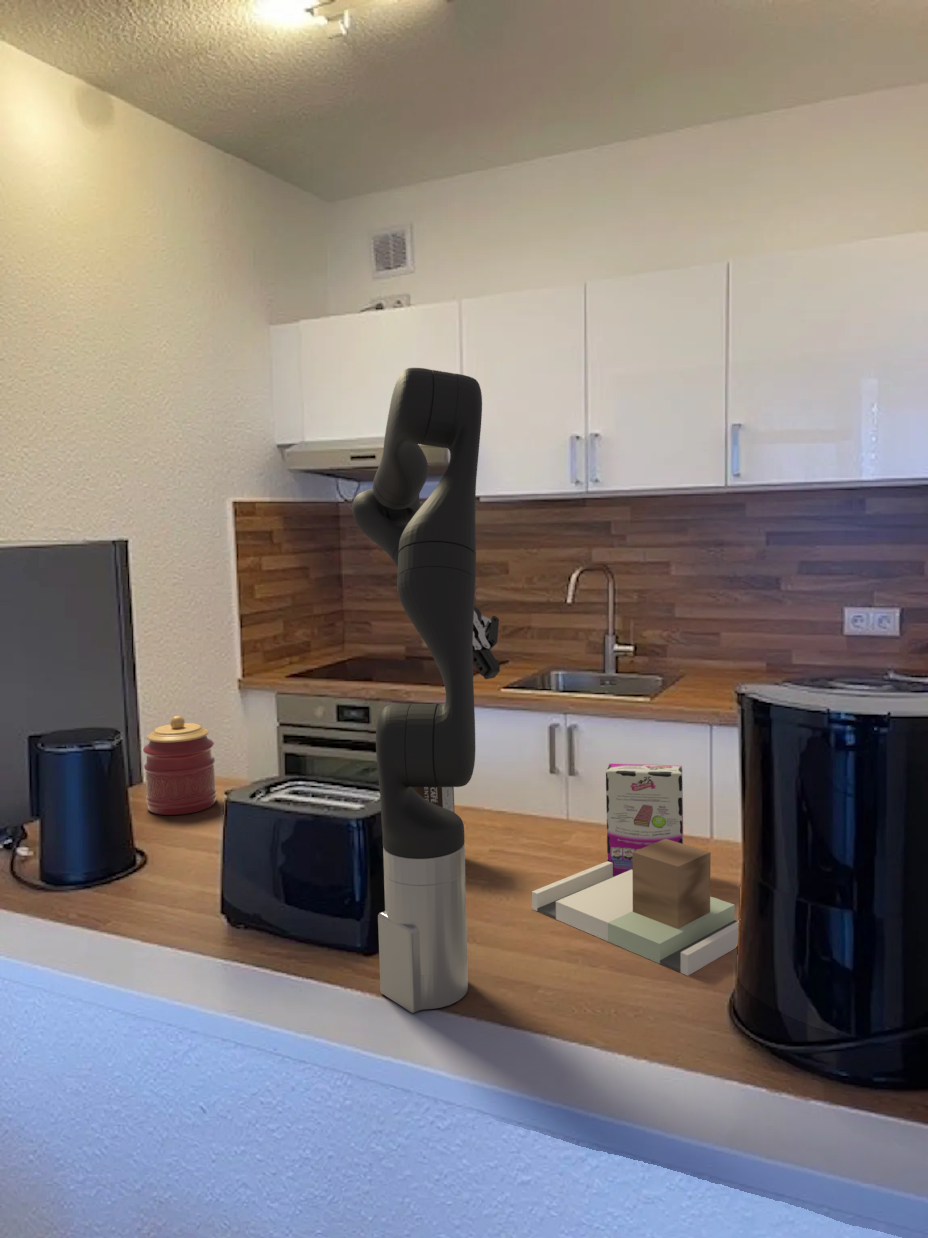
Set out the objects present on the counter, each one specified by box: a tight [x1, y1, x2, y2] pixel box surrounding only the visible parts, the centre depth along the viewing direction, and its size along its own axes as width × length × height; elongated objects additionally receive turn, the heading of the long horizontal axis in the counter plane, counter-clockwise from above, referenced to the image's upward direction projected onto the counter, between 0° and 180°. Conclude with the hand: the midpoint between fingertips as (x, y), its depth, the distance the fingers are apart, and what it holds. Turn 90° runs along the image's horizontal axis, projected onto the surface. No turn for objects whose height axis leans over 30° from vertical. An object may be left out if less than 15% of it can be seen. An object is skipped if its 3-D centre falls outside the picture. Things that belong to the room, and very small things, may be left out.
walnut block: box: [632, 839, 712, 929], centre depth 117 cm, size 7×7×8 cm
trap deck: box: [531, 861, 739, 976], centre depth 121 cm, size 16×26×2 cm, turn 41°
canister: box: [143, 715, 217, 816], centre depth 175 cm, size 13×13×18 cm
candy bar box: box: [605, 763, 684, 877], centre depth 136 cm, size 11×5×16 cm, turn 76°
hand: (493, 675), depth 127 cm, fingers closed
